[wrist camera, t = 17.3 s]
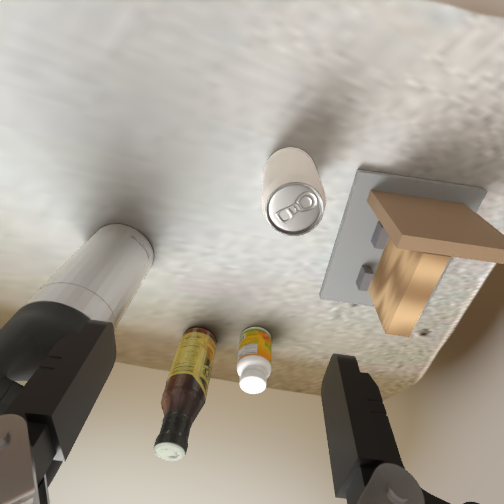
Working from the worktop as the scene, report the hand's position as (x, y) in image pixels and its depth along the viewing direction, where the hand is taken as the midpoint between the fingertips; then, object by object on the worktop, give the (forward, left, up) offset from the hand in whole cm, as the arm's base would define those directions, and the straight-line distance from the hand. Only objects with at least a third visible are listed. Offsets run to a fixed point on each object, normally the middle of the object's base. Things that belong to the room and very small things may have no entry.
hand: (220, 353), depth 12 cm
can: (+2, -5, -33) cm, 34 cm away
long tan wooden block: (+10, -22, -32) cm, 40 cm away
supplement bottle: (-15, -29, -33) cm, 47 cm away
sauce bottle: (-24, -25, -33) cm, 48 cm away
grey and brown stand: (+10, -22, -33) cm, 41 cm away
